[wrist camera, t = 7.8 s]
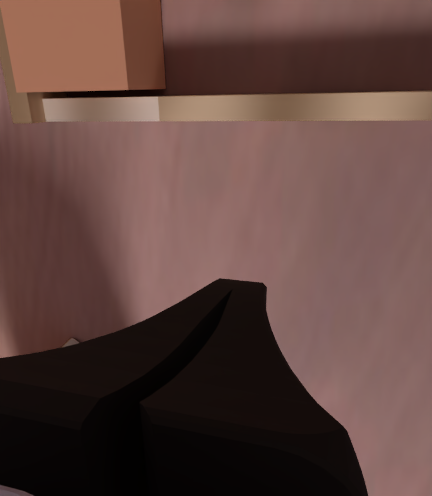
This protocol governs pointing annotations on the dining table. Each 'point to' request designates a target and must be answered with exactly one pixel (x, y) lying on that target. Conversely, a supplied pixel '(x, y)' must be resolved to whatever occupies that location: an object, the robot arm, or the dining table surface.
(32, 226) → the dining table surface
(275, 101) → the chute
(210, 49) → the dining table surface
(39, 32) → the block
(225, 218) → the dining table surface
